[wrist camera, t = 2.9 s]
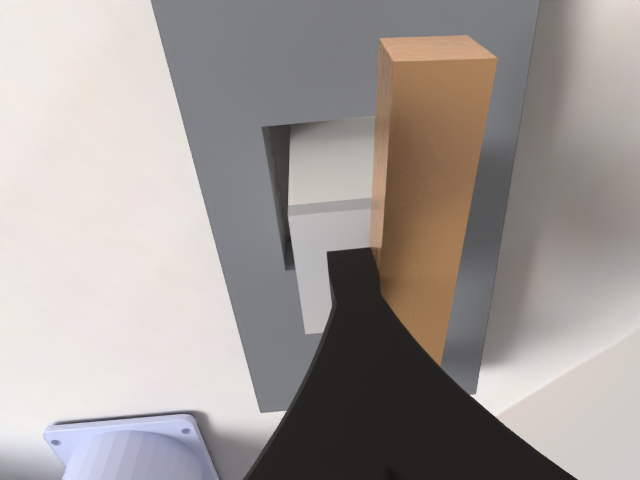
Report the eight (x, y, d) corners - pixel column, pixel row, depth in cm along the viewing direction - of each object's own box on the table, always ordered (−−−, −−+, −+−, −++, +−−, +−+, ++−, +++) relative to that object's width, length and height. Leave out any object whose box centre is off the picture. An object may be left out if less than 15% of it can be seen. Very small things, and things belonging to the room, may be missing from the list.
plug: (405, 211, 18) (445, 321, 13) (303, 221, 18) (305, 334, 13) (407, 111, 16) (456, 200, 11) (290, 122, 16) (287, 216, 11)
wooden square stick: (415, 476, 16) (425, 523, 15) (345, 480, 16) (349, 527, 15) (493, 34, 8) (529, 57, 7) (352, 38, 8) (362, 62, 7)
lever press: (463, 360, 23) (514, 500, 18) (262, 377, 24) (252, 522, 18) (520, -75, 13) (685, -62, 7) (162, -37, 13) (63, 3, 8)
